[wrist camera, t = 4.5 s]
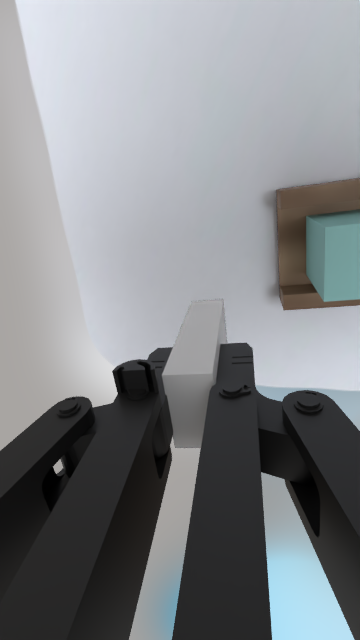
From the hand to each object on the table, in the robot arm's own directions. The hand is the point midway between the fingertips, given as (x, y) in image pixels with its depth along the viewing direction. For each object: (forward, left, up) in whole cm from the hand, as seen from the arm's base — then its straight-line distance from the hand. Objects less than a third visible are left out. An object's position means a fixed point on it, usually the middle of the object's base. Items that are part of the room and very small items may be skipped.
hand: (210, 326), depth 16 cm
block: (0, +10, -18) cm, 21 cm away
